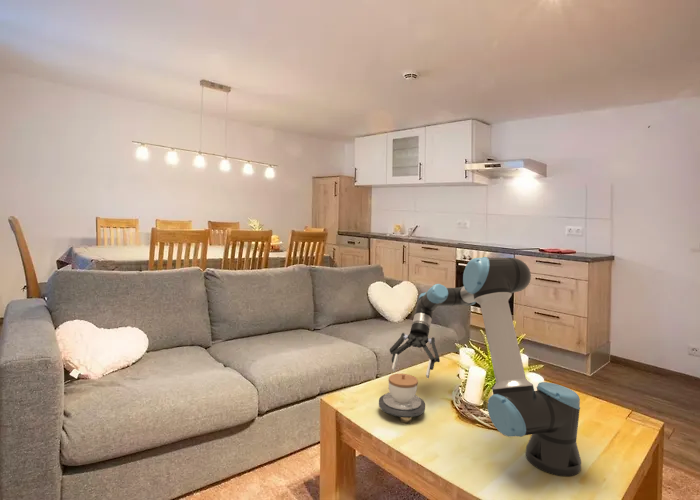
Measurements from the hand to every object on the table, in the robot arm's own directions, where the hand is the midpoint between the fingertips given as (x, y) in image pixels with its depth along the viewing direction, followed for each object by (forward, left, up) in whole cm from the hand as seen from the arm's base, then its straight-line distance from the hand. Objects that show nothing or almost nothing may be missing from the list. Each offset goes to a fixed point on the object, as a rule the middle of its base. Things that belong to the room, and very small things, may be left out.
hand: (410, 373), depth 163 cm
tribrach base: (0, +10, -11) cm, 15 cm away
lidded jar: (0, +10, -6) cm, 12 cm away
